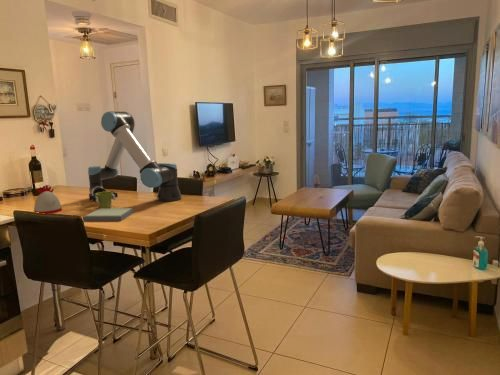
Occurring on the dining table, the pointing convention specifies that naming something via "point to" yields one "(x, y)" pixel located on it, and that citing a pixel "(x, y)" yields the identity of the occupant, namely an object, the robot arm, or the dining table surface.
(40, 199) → the grey dome
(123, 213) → the stand
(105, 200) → the plant pot
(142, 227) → the dining table surface
